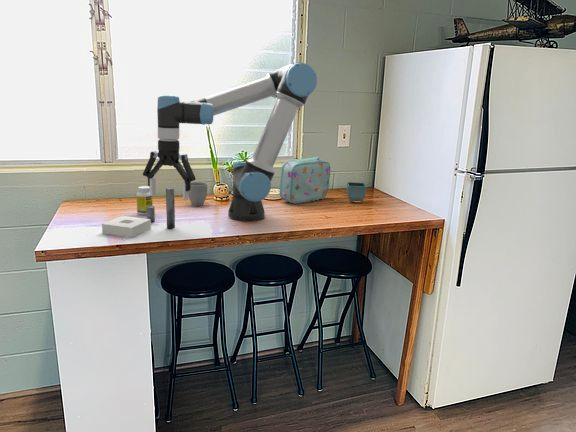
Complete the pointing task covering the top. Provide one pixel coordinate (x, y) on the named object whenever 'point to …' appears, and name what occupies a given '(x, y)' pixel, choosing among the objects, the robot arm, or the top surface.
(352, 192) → the flower pot
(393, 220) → the top surface
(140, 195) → the pill bottle
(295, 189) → the lunch box
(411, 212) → the top surface
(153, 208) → the short pin
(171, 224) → the long pin
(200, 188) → the mug
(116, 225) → the socket block
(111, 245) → the top surface
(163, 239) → the top surface
